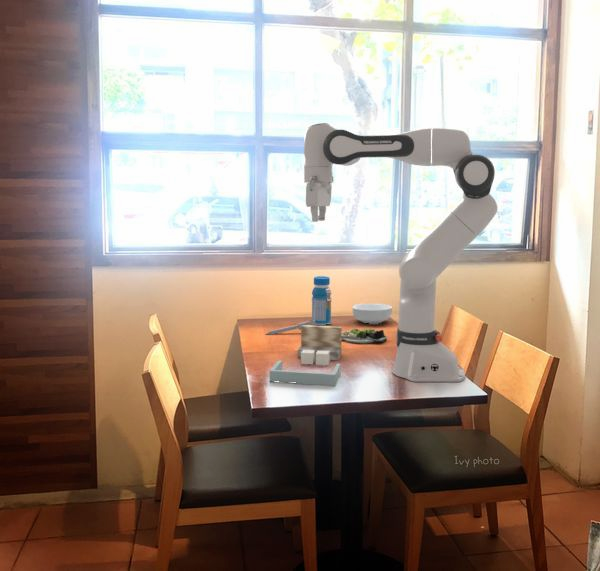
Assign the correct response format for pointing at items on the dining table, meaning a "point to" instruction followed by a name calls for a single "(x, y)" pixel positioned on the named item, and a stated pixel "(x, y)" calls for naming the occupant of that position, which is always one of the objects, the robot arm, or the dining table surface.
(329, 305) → the beverage bottle
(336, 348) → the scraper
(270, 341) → the dining table surface
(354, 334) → the salad plate
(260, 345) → the dining table surface
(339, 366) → the tray
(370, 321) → the cereal bowl
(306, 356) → the cream block
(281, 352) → the dining table surface
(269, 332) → the caliper
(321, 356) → the cream block
